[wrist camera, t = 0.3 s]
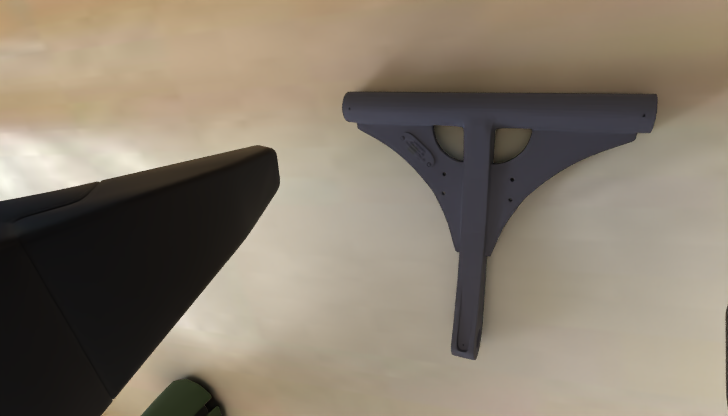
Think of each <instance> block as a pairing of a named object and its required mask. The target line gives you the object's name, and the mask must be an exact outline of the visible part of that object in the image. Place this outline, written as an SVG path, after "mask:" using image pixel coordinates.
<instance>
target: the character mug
mask: <svg viewBox="0 0 728 416" xmlns="http://www.w3.org/2000/svg"><path fill="white" fill-rule="evenodd" d="M211 398H212V397H211V395H210V393H208V392H207V391H206V390H205V389H204V388H203V387H202V386H200V385H199V384H197V383H195V382H193V381H190V380H188V379H183V380H177V381H173V382H172V383H171V384H170V385H169V386H168V387H167V388H166V389H165V390H164V391H163V392H162V393H161V394H160V395H159V396H158V397H157V398H156V399H155V400H154V402H153V403H152V404H151V405H150V406H149V407H148V408H147V409H146V411H145V412H144V413H143V414H142V415H141V416H221V412H220V408H219V407H218V406H216V407H215V408H214V409H213V410H212V411H211V412H210V413H208V410H207V408H206V407H205V406H204V405H205V404H206V403H207V402H208V401H209V400H210V399H211Z"/></svg>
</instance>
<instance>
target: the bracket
mask: <svg viewBox="0 0 728 416" xmlns="http://www.w3.org/2000/svg"><path fill="white" fill-rule="evenodd" d="M657 104H658V97H657V94H587V93H453V92H347V93H346V94H345V96H344V99H343V103H342V111H343V115H344V118H345V120H346V121H348V122H356V123H357V127H358V129H360V130H361V131H363V132H365V133H367V134H369V135H371V136H372V137H374V138H376V139H378V140H379V141H381V142H382V143H384V144H386V145H387V146H388V147H390V148H391V149H393V150H394V151H395V152H396V153H398V154H399V155H400V156H401V157H402V158H404V159H405V160H406V161H407V162H408V163H409V164H410V165H411V166H412V167H413V168H414V169H415V170H416V171H417V172H418V174H419V175H420V176H421V177H422V178H423V180H424V181H425V182H426V183H427V184H428V186H429V187H430V188H431V189H432V191H433V192H434V194H435V196H436V198H437V200H438V202H439V204H440V206H441V208H442V210H443V213H444V215H445V218H446V220H447V222H448V226H449V229H450V232H451V236H452V240H453V244H454V247H455V251H457V252H460V253H459V268H458V281H457V292H456V302H455V313H454V323H453V333H452V341H451V352H452V355H455V356H459V357H463V358H467V359H471V360H476V358H477V355H478V351H479V347H480V341H481V334H482V324H483V309H484V294H485V279H486V264H487V256H490V255H491V253H492V251H493V249H494V247H495V244H496V242H497V240H498V238H499V235H500V233H501V231H502V229H503V228H504V226H505V224H506V223H507V221H508V220H509V218H510V217H511V216H512V214H513V213H514V212H515V210H516V209H517V208H518V206H519V205H520V204H521V202H522V201H523V200H524V199H525V198H526V197H527V196H528V195H529V194H530V193H532V192H533V191H534V190H535V189H536V188H538V187H539V186H540V185H541V184H543V183H544V182H545V181H547V180H548V179H550V178H551V177H553V176H554V175H555V174H557V173H559V172H560V171H562V170H564V169H565V168H567V167H569V166H571V165H573V164H575V163H577V162H579V161H581V160H583V159H585V158H587V157H590V156H592V155H595V154H597V153H600V152H602V151H605V150H608V149H611V148H614V147H617V146H620V145H623V144H626V143H629V142H632V141H634V140H635V139H636V135H637V133H651V131H652V129H653V126H654V122H655V119H656V113H657ZM434 125H443V126H458V127H462V128H463V129H464V161H460V160H457V159H455V158H453V157H451V156H449V155H448V154H447V153H446V152H444V150H443V149H442V148H441V147H440V145H439V144H438V142H437V139H436V136H435V132H434ZM499 128H524V129H532V135H531V138H530V140H529V142H528V144H527V146H526V147H525V149H524V150H523V151H522V152H521V153H520V154H519V155H518V156H516V157H515V158H513V159H511V160H509V161H506V162H502V163H493V159H494V144H495V132H496V129H499ZM444 172H445V173H446V175H445V174H444ZM511 178H514V180H511ZM443 192H445V194H444V193H443ZM509 198H512V200H510V199H509Z"/></svg>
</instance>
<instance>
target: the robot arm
mask: <svg viewBox="0 0 728 416" xmlns="http://www.w3.org/2000/svg"><path fill="white" fill-rule="evenodd" d="M279 185H280V176H279V168H278V161H277V154H276V152H275V150H273V149H272V148H268V147H264V146H260V145H256V146H251V147H247V148H243V149H238V150H234V151H229V152H225V153H221V154H216V155H212V156H207V157H203V158H199V159H194V160H190V161H185V162H181V163H177V164H172V165H168V166H163V167H159V168H155V169H150V170H146V171H142V172H137V173H133V174H128V175H124V176H120V177H115V178H111V179H106V180H102V181H101V182H93V183H89V184H84V185H80V186H75V187H70V188H66V189H61V190H57V191H52V192H47V193H42V194H37V195H31V196H26V197H21V198H16V199H10V200H5V201H0V416H101V415H102V414H103V412H104V411H105V410H106V409H107V408H108V406H109V405H110V404H111V403H112V401H113V400H112V399H114V398H115V397H116V396H117V395H118V394H119V393H120V391H121V390H122V389H123V388H124V386H125V385H126V384H127V383H128V382H129V380H130V379H131V378H132V377H133V375H134V374H135V373H136V372H137V371H138V369H139V368H140V367H141V366H142V365H143V363H144V362H145V361H146V360H147V358H148V357H149V356H150V355H151V354H152V352H153V351H154V350H155V349H156V347H157V346H158V345H159V344H160V343H161V341H162V340H163V339H164V338H165V337H166V335H167V334H168V333H169V332H170V330H171V329H172V328H173V327H174V326H175V324H176V323H177V322H178V321H179V319H180V318H181V317H182V316H183V315H184V313H185V312H186V311H187V310H188V309H189V307H190V306H191V305H192V304H193V302H194V301H195V300H196V299H197V298H198V296H199V295H200V294H201V293H202V291H203V290H204V289H205V288H206V287H207V285H208V284H209V283H210V282H211V281H212V279H213V278H214V277H215V276H216V274H217V273H218V272H219V271H220V270H221V268H222V267H223V266H224V265H225V263H226V262H227V261H228V260H229V259H230V257H231V256H232V255H233V254H234V253H235V251H236V250H237V249H238V248H239V246H240V245H241V244H242V243H243V241H244V240H245V239H246V237H247V236H248V234H249V233H250V232H251V230H252V229H253V227H254V226H255V224H256V223H257V221H258V219H259V218H260V216H261V215H262V213H263V212H264V210H265V209H266V207H267V206H268V204H269V203H270V201H271V200H272V198H273V197H274V195H275V194H276V192H277V190H278V188H279ZM726 396H727V405H728V306H727V309H726Z"/></svg>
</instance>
